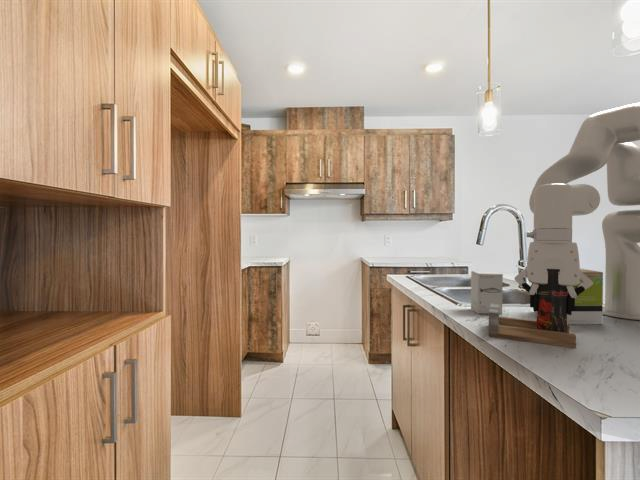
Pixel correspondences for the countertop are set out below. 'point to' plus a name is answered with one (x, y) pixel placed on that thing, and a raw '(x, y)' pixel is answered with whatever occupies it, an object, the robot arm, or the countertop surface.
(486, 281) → the supplement box
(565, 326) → the black package box
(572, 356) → the countertop surface
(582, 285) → the robot arm
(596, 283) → the tea box
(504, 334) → the channel
